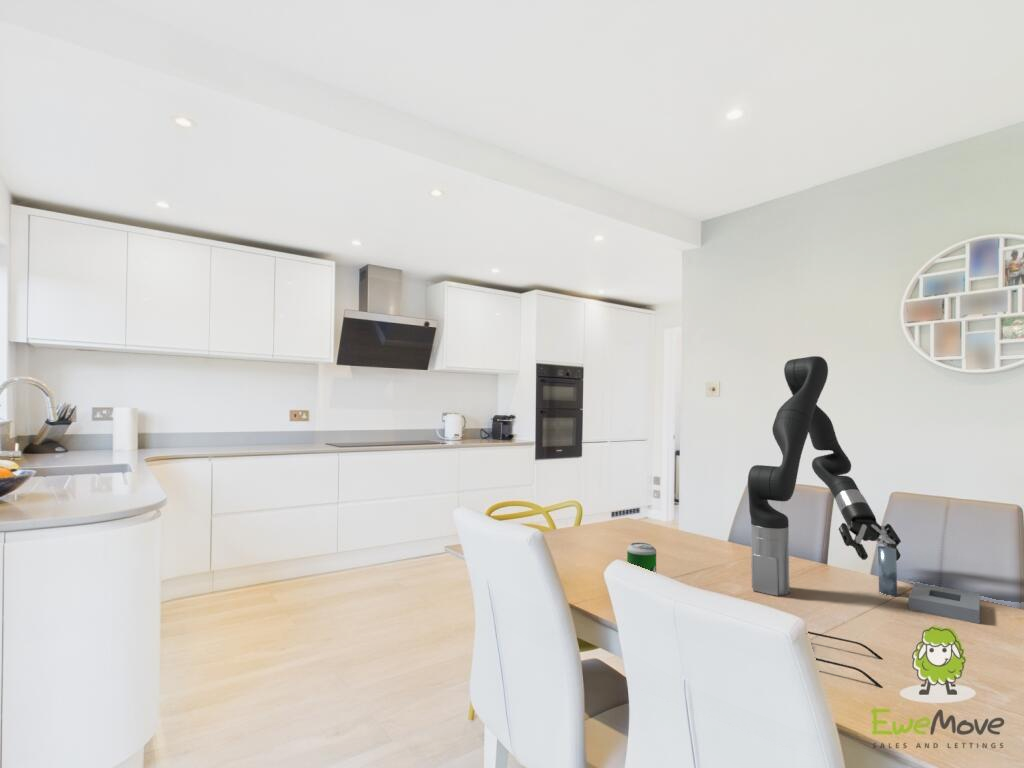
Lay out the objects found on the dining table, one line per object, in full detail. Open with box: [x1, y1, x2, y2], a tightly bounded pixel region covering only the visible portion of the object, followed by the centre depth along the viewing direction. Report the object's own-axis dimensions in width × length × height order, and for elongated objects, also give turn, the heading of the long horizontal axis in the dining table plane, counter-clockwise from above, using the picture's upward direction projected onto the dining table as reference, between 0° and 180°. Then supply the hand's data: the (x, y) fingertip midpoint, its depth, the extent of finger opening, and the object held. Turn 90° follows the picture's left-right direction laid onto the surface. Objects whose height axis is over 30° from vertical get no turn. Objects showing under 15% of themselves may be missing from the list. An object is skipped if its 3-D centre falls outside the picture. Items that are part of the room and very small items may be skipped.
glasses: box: [807, 630, 884, 689], centre depth 103 cm, size 14×16×5 cm
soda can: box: [626, 541, 657, 573], centre depth 143 cm, size 8×8×12 cm
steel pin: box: [877, 545, 898, 597], centre depth 143 cm, size 4×4×12 cm
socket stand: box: [908, 582, 981, 625], centre depth 133 cm, size 16×13×3 cm
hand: (881, 558), depth 146 cm, fingers open, 8 cm apart
